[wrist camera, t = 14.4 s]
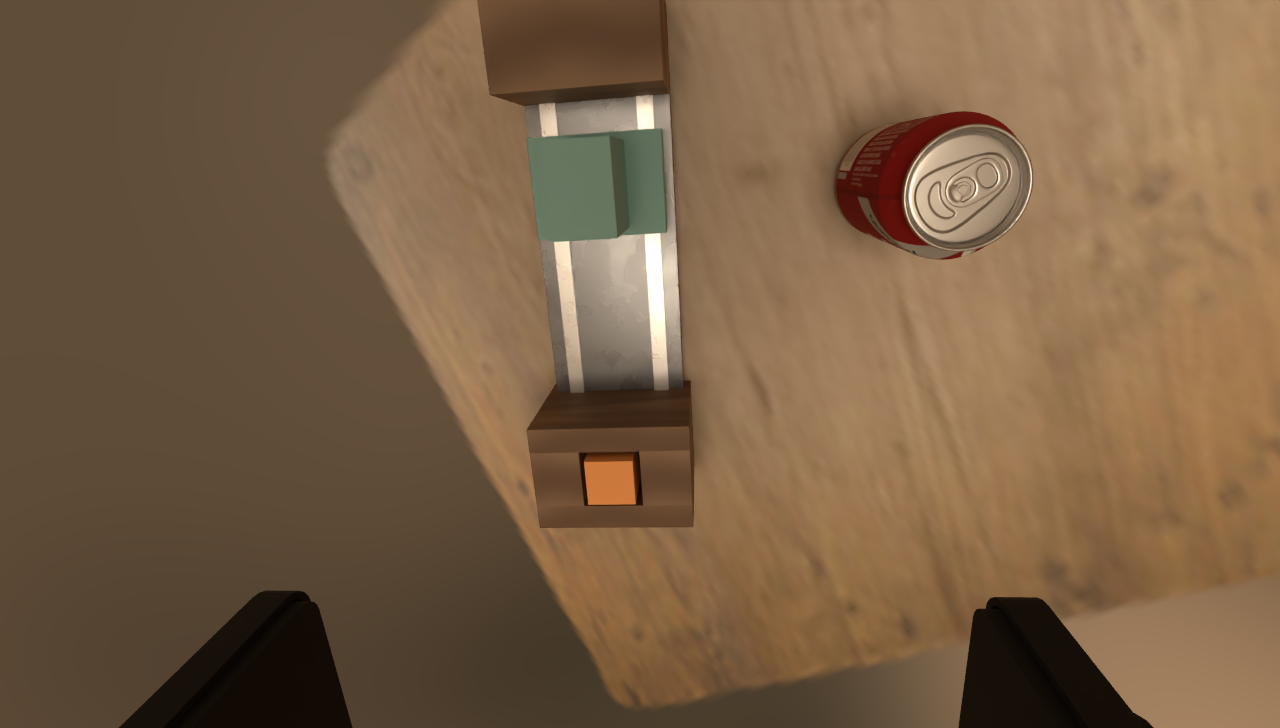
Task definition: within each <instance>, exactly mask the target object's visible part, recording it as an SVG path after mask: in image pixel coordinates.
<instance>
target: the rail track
mask: <svg viewBox="0 0 1280 728" xmlns="http://www.w3.org/2000/svg"><path fill="white" fill-rule="evenodd" d="M668 78H669V61H668ZM524 108H525V116H526V125H527V133H528V138H537V137H550V136H563V135H576V134H589V133H602V132H615V131H628V130H641V129H654V128H661V129H662V137H663V156H664V175H665V195H666V214H667V232H666V233H657V234H640V235H622V236H619V237H618V238H617V239H600V240H582V241H565V242H549V240H540V244H541V253H542V261H543V270H544V279H545V287H546V296H547V304H548V313H549V321H550V330H551V338H552V347H553V355H554V364H555V372H556V381H557V390H558V392H571V393H584V392H585V391H604V390H638V389H654V391H655V390H669V389H671V388H683V382H684V378H683V357H682V336H681V314H680V293H679V271H678V250H677V228H676V207H675V186H674V164H673V143H672V121H671V100H670V78H669V94H662V95H644V96H636V97H626V98H614V99H602V100H590V101H578V102H566V103H547V104H539V105H530V106H524Z"/></svg>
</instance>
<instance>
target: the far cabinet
mask: <svg viewBox="0 0 1280 728" xmlns="http://www.w3.org/2000/svg"><path fill="white" fill-rule="evenodd" d="M527 437H528V444H529V452H530V459H531V466H532V474H533V481H534V488H535V495H536V503H537V510H538V517H539V524H540V528H617V527H693V516H694V450H693V427H692V404H691V381H684V382H683V388H671V389H669V390H655V391H654V389H638V390H604V391H585V392H584V393H571V392H558V390H557V385H555V387H554V388H553V390H552V391H551V393H550V394H549V396H548V397H547V399H546V401H545V402H544V404H543V405H542V407H541V408H540V410H539V411H538V413H537V415H536V416H535V418H534V419H533V421H532V422H531V424H530V425H529V427H528V429H527ZM636 451H639V455H640V469H641V479H640V484H639V489H638V495H637V500H636V504H620V505H588V496H587V487H586V477H585V468H584V460H585V458H586V455H587V453H588V452H636Z"/></svg>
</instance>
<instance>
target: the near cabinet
mask: <svg viewBox="0 0 1280 728" xmlns="http://www.w3.org/2000/svg"><path fill="white" fill-rule="evenodd" d="M477 2H478V9H479V17H480V24H481V32H482V39H483V47H484V54H485V62H486V69H487V77H488V85H489V92H490V95H492V96H495V97H498V98H501V99H504V100H507V101H511V102H514V103H517V104H520V105H523V106H530V105H539V104H547V103H566V102H578V101H590V100H602V99H614V98H626V97H636V96H644V95H662V94H669V78H668V61H669V57H668V36H667V14H666V3H665V0H477Z"/></svg>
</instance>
